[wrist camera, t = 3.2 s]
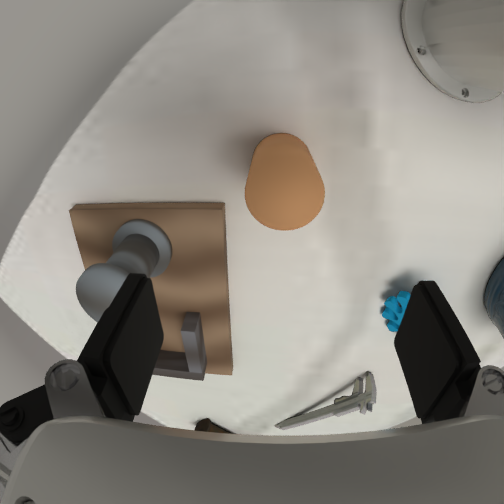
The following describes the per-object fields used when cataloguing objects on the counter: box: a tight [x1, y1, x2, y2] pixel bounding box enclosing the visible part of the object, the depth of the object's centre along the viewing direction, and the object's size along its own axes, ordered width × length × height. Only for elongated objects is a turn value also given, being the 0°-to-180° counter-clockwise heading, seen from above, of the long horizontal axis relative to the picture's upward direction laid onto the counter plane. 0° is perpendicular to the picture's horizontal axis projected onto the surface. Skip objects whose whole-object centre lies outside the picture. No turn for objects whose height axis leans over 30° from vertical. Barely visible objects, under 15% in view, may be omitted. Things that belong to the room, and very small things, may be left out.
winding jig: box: [69, 203, 233, 381], centre depth 31 cm, size 23×16×10 cm
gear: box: [382, 291, 411, 332], centre depth 32 cm, size 11×6×10 cm
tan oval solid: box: [245, 133, 325, 230], centre depth 23 cm, size 5×5×8 cm
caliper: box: [275, 372, 376, 430], centre depth 42 cm, size 20×1×6 cm, turn 143°
